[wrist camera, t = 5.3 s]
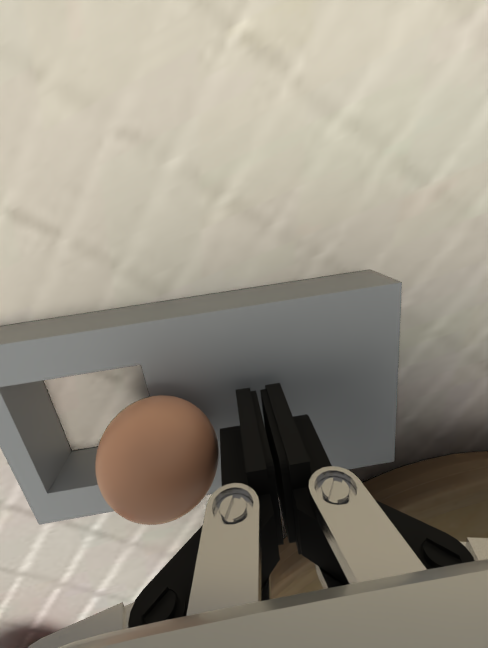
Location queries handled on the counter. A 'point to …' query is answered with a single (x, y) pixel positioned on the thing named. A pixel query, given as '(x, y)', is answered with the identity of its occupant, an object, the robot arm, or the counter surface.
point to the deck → (210, 373)
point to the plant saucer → (409, 509)
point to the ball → (157, 460)
